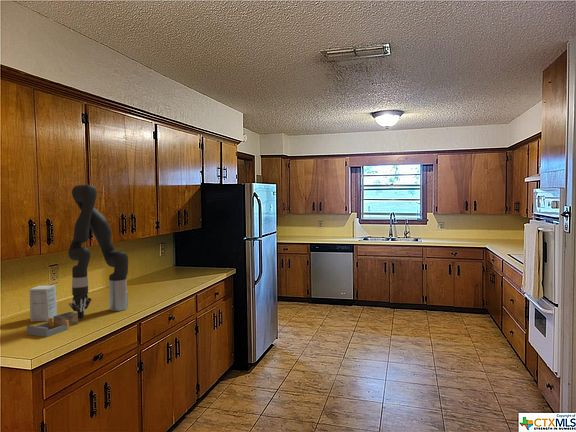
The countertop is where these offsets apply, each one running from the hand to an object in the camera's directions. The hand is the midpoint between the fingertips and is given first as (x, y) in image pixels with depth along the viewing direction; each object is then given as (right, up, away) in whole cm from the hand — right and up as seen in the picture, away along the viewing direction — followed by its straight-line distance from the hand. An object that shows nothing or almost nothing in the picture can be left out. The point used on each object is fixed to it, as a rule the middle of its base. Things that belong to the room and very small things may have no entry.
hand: (80, 318), depth 220 cm
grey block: (-3, -2, -9) cm, 9 cm away
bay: (-6, -2, -18) cm, 19 cm away
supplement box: (-21, -1, +3) cm, 21 cm away
